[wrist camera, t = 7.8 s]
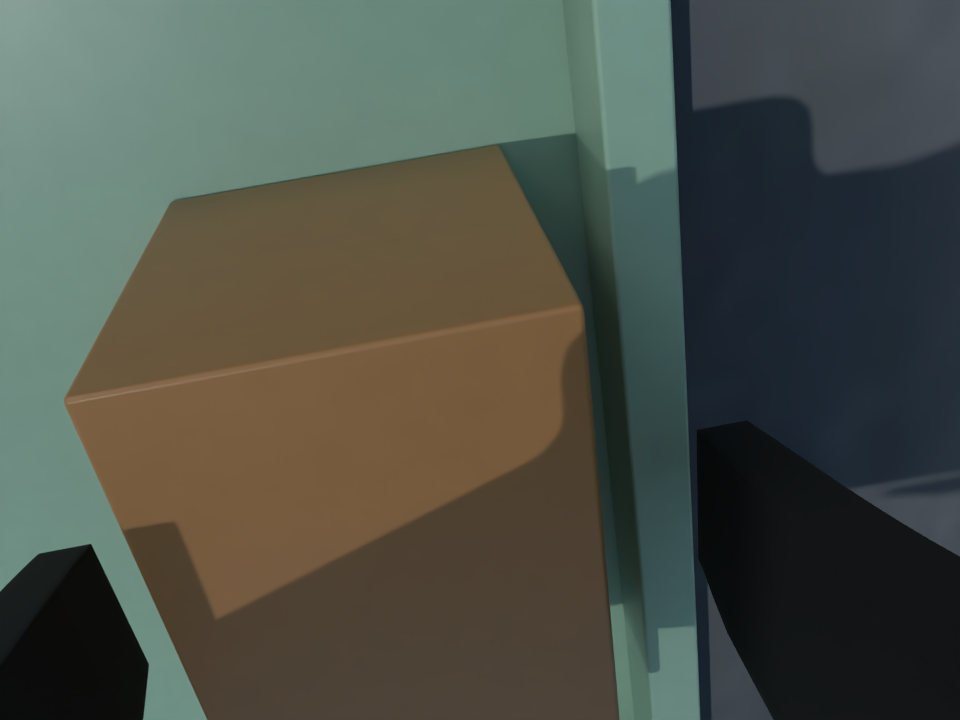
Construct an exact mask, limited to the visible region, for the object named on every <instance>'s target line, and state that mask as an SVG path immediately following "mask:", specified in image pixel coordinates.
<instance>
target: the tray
mask: <svg viewBox="0 0 960 720" xmlns="http://www.w3.org/2000/svg"><path fill="white" fill-rule="evenodd" d="M493 145H498V146H500V148H501V150H502V152H503V154H504V156H505V158H506V160H507V162H508V163H509V165H510V167H511V169H512V171H513V173H514V175H515V177H516V179H517V181H518V182H519V184H520V186H521V188H522V190H523V192H524V194H525V196H526V198H527V200H528V202H529V203H530V205H531V207H532V209H533V211H534V213H535V215H536V217H537V219H538V221H539V223H540V224H541V226H542V228H543V230H544V232H545V234H546V236H547V238H548V240H549V242H550V244H551V245H552V247H553V249H554V251H555V253H556V255H557V257H558V259H559V261H560V263H561V265H562V266H563V268H564V270H565V272H566V274H567V276H568V278H569V280H570V282H571V284H572V286H573V287H574V289H575V291H576V293H577V295H578V297H579V299H580V301H581V303H582V305H583V307H584V313H585V324H586V336H587V347H588V359H589V371H590V382H591V394H592V405H593V417H594V428H595V440H596V451H597V463H598V475H599V486H600V498H601V509H602V521H603V532H604V544H605V555H606V567H607V579H608V590H609V602H610V613H611V625H612V636H613V648H614V659H615V671H616V683H617V694H618V706H619V717H620V720H700V696H699V672H698V648H697V624H696V600H695V576H694V552H693V528H692V503H691V479H690V455H689V431H688V407H687V383H686V359H685V334H684V310H683V286H682V262H681V238H680V214H679V190H678V166H677V141H676V117H675V93H674V69H673V45H672V21H671V0H0V591H1V590H2V589H3V588H4V587H5V586H6V585H7V584H8V583H9V582H10V581H11V580H12V579H13V578H14V577H15V576H16V575H17V574H18V573H19V572H20V571H21V570H22V569H23V568H24V567H25V566H26V565H27V564H28V563H29V562H30V561H31V560H32V559H33V558H35V557H36V556H37V555H38V554H39V553H45V552H50V551H55V550H61V549H66V548H71V547H76V546H82V545H87V544H91V545H92V547H93V549H94V551H95V553H96V555H97V557H98V559H99V561H100V563H101V565H102V568H103V570H104V572H105V574H106V576H107V578H108V580H109V582H110V584H111V586H112V588H113V590H114V592H115V595H116V597H117V599H118V601H119V603H120V605H121V607H122V609H123V611H124V613H125V615H126V617H127V620H128V622H129V624H130V626H131V628H132V630H133V632H134V634H135V636H136V638H137V640H138V642H139V645H140V647H141V649H142V651H143V653H144V655H145V657H146V659H147V661H148V663H149V670H148V680H147V690H146V699H145V709H144V717H143V720H207V718H206V716H205V714H204V712H203V709H202V707H201V705H200V703H199V701H198V698H197V696H196V694H195V692H194V690H193V687H192V685H191V683H190V681H189V678H188V676H187V674H186V672H185V670H184V667H183V665H182V663H181V661H180V659H179V656H178V654H177V652H176V650H175V648H174V645H173V643H172V641H171V639H170V636H169V634H168V632H167V630H166V628H165V625H164V623H163V621H162V619H161V617H160V614H159V612H158V610H157V608H156V606H155V603H154V601H153V599H152V597H151V594H150V592H149V590H148V588H147V586H146V583H145V581H144V579H143V577H142V575H141V572H140V570H139V568H138V566H137V564H136V561H135V559H134V557H133V555H132V552H131V550H130V548H129V546H128V544H127V541H126V539H125V537H124V535H123V533H122V530H121V528H120V526H119V524H118V522H117V519H116V517H115V515H114V513H113V511H112V508H111V506H110V504H109V502H108V499H107V497H106V495H105V493H104V491H103V488H102V486H101V484H100V482H99V480H98V477H97V475H96V473H95V471H94V469H93V466H92V464H91V462H90V460H89V457H88V455H87V453H86V451H85V449H84V446H83V444H82V442H81V440H80V438H79V435H78V433H77V431H76V429H75V427H74V424H73V422H72V420H71V418H70V415H69V413H68V411H67V409H66V407H65V404H64V397H65V396H66V394H67V392H68V390H69V388H70V386H71V385H72V383H73V381H74V379H75V377H76V375H77V373H78V372H79V370H80V368H81V366H82V364H83V362H84V361H85V359H86V357H87V355H88V353H89V351H90V349H91V348H92V346H93V344H94V342H95V340H96V338H97V337H98V335H99V333H100V331H101V329H102V327H103V326H104V324H105V322H106V320H107V318H108V316H109V314H110V313H111V311H112V309H113V307H114V305H115V303H116V302H117V300H118V298H119V296H120V294H121V292H122V290H123V289H124V287H125V285H126V283H127V281H128V279H129V278H130V276H131V274H132V272H133V270H134V268H135V266H136V265H137V263H138V261H139V259H140V257H141V255H142V254H143V252H144V250H145V248H146V246H147V244H148V243H149V241H150V239H151V237H152V235H153V233H154V231H155V230H156V228H157V226H158V224H159V222H160V220H161V219H162V217H163V215H164V213H165V211H166V209H167V207H168V206H169V204H170V203H171V202H172V201H177V200H182V199H188V198H194V197H200V196H205V195H211V194H217V193H223V192H228V191H234V190H240V189H246V188H251V187H257V186H263V185H269V184H274V183H280V182H286V181H292V180H297V179H303V178H309V177H315V176H320V175H326V174H332V173H338V172H343V171H349V170H355V169H361V168H366V167H372V166H378V165H384V164H389V163H395V162H401V161H407V160H412V159H418V158H424V157H430V156H435V155H441V154H447V153H453V152H458V151H464V150H470V149H476V148H481V147H487V146H493Z"/></svg>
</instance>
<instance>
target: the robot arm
mask: <svg viewBox="0 0 960 720" xmlns="http://www.w3.org/2000/svg"><path fill="white" fill-rule="evenodd" d="M697 484H698V552H699V560H700V563H701V566H702V568H703V571H704V574H705V576H706V579H707V582H708V584H709V587H710V590H711V592H712V595H713V598H714V600H715V603H716V605H717V608H718V610H719V613H720V615H721V618H722V620H723V623H724V625H725V628H726V630H727V633H728V635H729V637H730V638H731V640H732V642H733V644H734V646H735V648H736V650H737V652H738V654H739V656H740V658H741V660H742V661H743V663H744V665H745V667H746V669H747V671H748V673H749V675H750V676H751V678H752V680H753V682H754V684H755V686H756V688H757V690H758V692H759V693H760V695H761V697H762V699H763V701H764V703H765V705H766V706H767V708H768V710H769V712H770V714H771V716H772V717H773V719H774V720H960V557H959V556H958V555H956V554H954V553H952V552H951V551H949V550H947V549H945V548H943V547H942V546H940V545H938V544H936V543H935V542H933V541H931V540H929V539H928V538H926V537H924V536H923V535H921V534H919V533H918V532H916V531H914V530H913V529H911V528H909V527H908V526H906V525H904V524H903V523H901V522H899V521H898V520H896V519H895V518H893V517H891V516H890V515H888V514H887V513H885V512H883V511H882V510H880V509H879V508H877V507H875V506H874V505H872V504H871V503H869V502H868V501H866V500H864V499H863V498H861V497H860V496H858V495H857V494H855V493H854V492H852V491H851V490H849V489H848V488H846V487H844V486H843V485H841V484H840V483H838V482H837V481H835V480H834V479H832V478H831V477H829V476H828V475H826V474H825V473H823V472H822V471H821V470H819V469H818V468H816V467H815V466H813V465H812V464H810V463H809V462H807V461H806V460H804V459H803V458H801V457H800V456H798V455H797V454H795V453H794V452H793V451H791V450H790V449H788V448H787V447H785V446H784V445H782V444H781V443H779V442H778V441H777V440H775V439H774V438H772V437H771V436H769V435H768V434H766V433H765V432H763V431H762V430H760V429H759V428H757V427H756V426H754V425H753V424H751V423H750V422H748V421H742V422H736V423H731V424H726V425H720V426H715V427H710V428H705V429H699V430H697ZM148 670H149V663H148V661H147V659H146V657H145V655H144V653H143V651H142V649H141V647H140V645H139V642H138V640H137V638H136V636H135V634H134V632H133V630H132V628H131V626H130V624H129V622H128V620H127V617H126V615H125V613H124V611H123V609H122V607H121V605H120V603H119V601H118V599H117V597H116V595H115V592H114V590H113V588H112V586H111V584H110V582H109V580H108V578H107V576H106V574H105V572H104V570H103V568H102V565H101V563H100V561H99V559H98V557H97V555H96V553H95V551H94V549H93V547H92V545H91V544H87V545H82V546H76V547H71V548H66V549H61V550H55V551H50V552H45V553H39V554H38V555H37V556H36V557H35V558H33V559H32V560H31V561H30V562H29V563H28V564H27V565H26V566H25V567H24V568H23V569H22V570H21V571H20V572H19V573H18V574H17V575H16V576H15V577H14V578H13V579H12V580H11V581H10V582H9V583H8V584H7V585H6V586H5V587H4V588H3V589H2V590H1V591H0V720H143V717H144V709H145V699H146V690H147V680H148Z"/></svg>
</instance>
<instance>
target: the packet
mask: <svg viewBox="0 0 960 720" xmlns="http://www.w3.org/2000/svg"><path fill="white" fill-rule="evenodd" d="M64 404H65V407H66V409H67V411H68V413H69V415H70V418H71V420H72V422H73V424H74V427H75V429H76V431H77V433H78V435H79V438H80V440H81V442H82V444H83V446H84V449H85V451H86V453H87V455H88V457H89V460H90V462H91V464H92V466H93V469H94V471H95V473H96V475H97V477H98V480H99V482H100V484H101V486H102V488H103V491H104V493H105V495H106V497H107V499H108V502H109V504H110V506H111V508H112V511H113V513H114V515H115V517H116V519H117V522H118V524H119V526H120V528H121V530H122V533H123V535H124V537H125V539H126V541H127V544H128V546H129V548H130V550H131V552H132V555H133V557H134V559H135V561H136V564H137V566H138V568H139V570H140V572H141V575H142V577H143V579H144V581H145V583H146V586H147V588H148V590H149V592H150V594H151V597H152V599H153V601H154V603H155V606H156V608H157V610H158V612H159V614H160V617H161V619H162V621H163V623H164V625H165V628H166V630H167V632H168V634H169V636H170V639H171V641H172V643H173V645H174V648H175V650H176V652H177V654H178V656H179V659H180V661H181V663H182V665H183V667H184V670H185V672H186V674H187V676H188V678H189V681H190V683H191V685H192V687H193V690H194V692H195V694H196V696H197V698H198V701H199V703H200V705H201V707H202V709H203V712H204V714H205V716H206V718H207V720H620V717H619V706H618V694H617V683H616V671H615V659H614V648H613V636H612V625H611V613H610V602H609V590H608V579H607V567H606V555H605V544H604V532H603V521H602V509H601V498H600V486H599V475H598V463H597V451H596V440H595V428H594V417H593V405H592V394H591V382H590V371H589V359H588V347H587V336H586V324H585V313H584V307H583V305H582V303H581V301H580V299H579V297H578V295H577V293H576V291H575V289H574V287H573V286H572V284H571V282H570V280H569V278H568V276H567V274H566V272H565V270H564V268H563V266H562V265H561V263H560V261H559V259H558V257H557V255H556V253H555V251H554V249H553V247H552V245H551V244H550V242H549V240H548V238H547V236H546V234H545V232H544V230H543V228H542V226H541V224H540V223H539V221H538V219H537V217H536V215H535V213H534V211H533V209H532V207H531V205H530V203H529V202H528V200H527V198H526V196H525V194H524V192H523V190H522V188H521V186H520V184H519V182H518V181H517V179H516V177H515V175H514V173H513V171H512V169H511V167H510V165H509V163H508V162H507V160H506V158H505V156H504V154H503V152H502V150H501V148H500V146H498V145H493V146H487V147H481V148H476V149H470V150H464V151H458V152H453V153H447V154H441V155H435V156H430V157H424V158H418V159H412V160H407V161H401V162H395V163H389V164H384V165H378V166H372V167H366V168H361V169H355V170H349V171H343V172H338V173H332V174H326V175H320V176H315V177H309V178H303V179H297V180H292V181H286V182H280V183H274V184H269V185H263V186H257V187H251V188H246V189H240V190H234V191H228V192H223V193H217V194H211V195H205V196H200V197H194V198H188V199H182V200H177V201H172V202H171V203H170V204H169V206H168V207H167V209H166V211H165V213H164V215H163V217H162V219H161V220H160V222H159V224H158V226H157V228H156V230H155V231H154V233H153V235H152V237H151V239H150V241H149V243H148V244H147V246H146V248H145V250H144V252H143V254H142V255H141V257H140V259H139V261H138V263H137V265H136V266H135V268H134V270H133V272H132V274H131V276H130V278H129V279H128V281H127V283H126V285H125V287H124V289H123V290H122V292H121V294H120V296H119V298H118V300H117V302H116V303H115V305H114V307H113V309H112V311H111V313H110V314H109V316H108V318H107V320H106V322H105V324H104V326H103V327H102V329H101V331H100V333H99V335H98V337H97V338H96V340H95V342H94V344H93V346H92V348H91V349H90V351H89V353H88V355H87V357H86V359H85V361H84V362H83V364H82V366H81V368H80V370H79V372H78V373H77V375H76V377H75V379H74V381H73V383H72V385H71V386H70V388H69V390H68V392H67V394H66V396H65V397H64Z"/></svg>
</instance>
